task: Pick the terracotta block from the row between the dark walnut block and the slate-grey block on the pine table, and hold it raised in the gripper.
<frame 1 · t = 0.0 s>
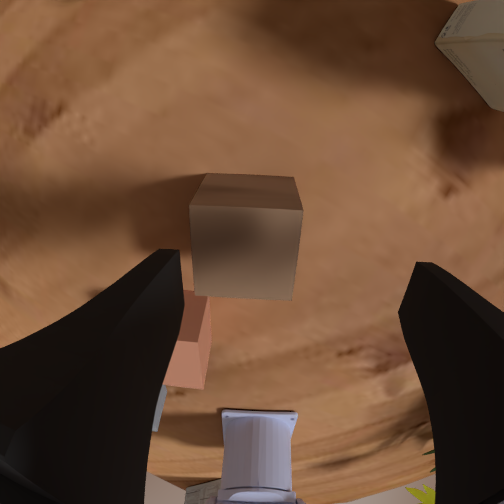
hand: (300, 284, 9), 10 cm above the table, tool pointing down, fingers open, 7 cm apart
supplement box: (239, 491, 49), on the table
walnut block: (248, 213, 19), on the table
skincare box: (477, 56, 13), on the table
daffodil flowers: (461, 398, 31), on the table
terracotta block: (178, 314, 24), on the table
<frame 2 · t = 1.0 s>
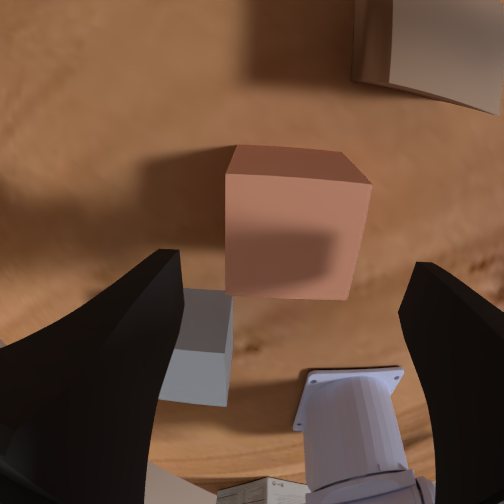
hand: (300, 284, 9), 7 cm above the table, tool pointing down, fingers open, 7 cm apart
supplement box: (281, 491, 41), on the table
walnut block: (401, 43, 11), on the table
terracotta block: (286, 195, 16), on the table
slate grey block: (194, 318, 20), on the table
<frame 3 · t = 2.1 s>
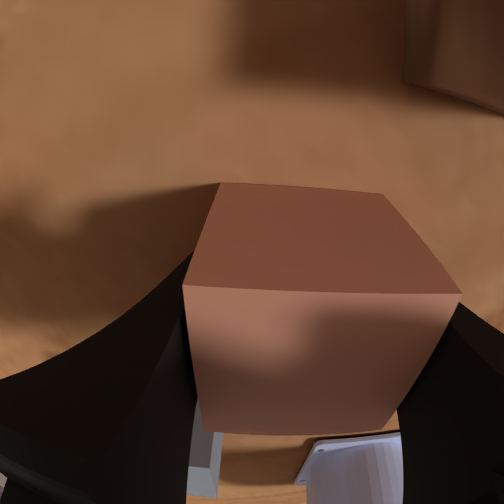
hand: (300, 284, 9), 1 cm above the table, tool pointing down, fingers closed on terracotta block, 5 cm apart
walnut block: (471, 32, 6), on the table
terracotta block: (296, 259, 10), on the table, touching gripper
slate grey block: (175, 392, 15), on the table
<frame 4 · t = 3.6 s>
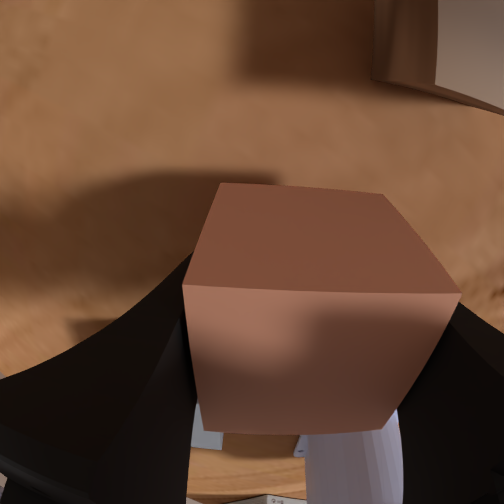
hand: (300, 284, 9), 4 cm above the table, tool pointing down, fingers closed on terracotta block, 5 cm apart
walnut block: (430, 36, 9), on the table
terracotta block: (296, 259, 10), point 3 cm above the table, touching gripper
slate grey block: (185, 351, 18), on the table
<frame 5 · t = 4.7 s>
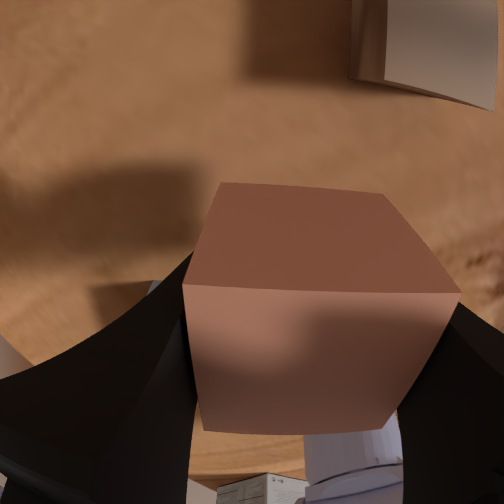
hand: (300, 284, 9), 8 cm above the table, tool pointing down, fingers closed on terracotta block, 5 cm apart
supplement box: (280, 488, 41), on the table
walnut block: (397, 41, 12), on the table
terracotta block: (296, 258, 10), point 6 cm above the table, touching gripper
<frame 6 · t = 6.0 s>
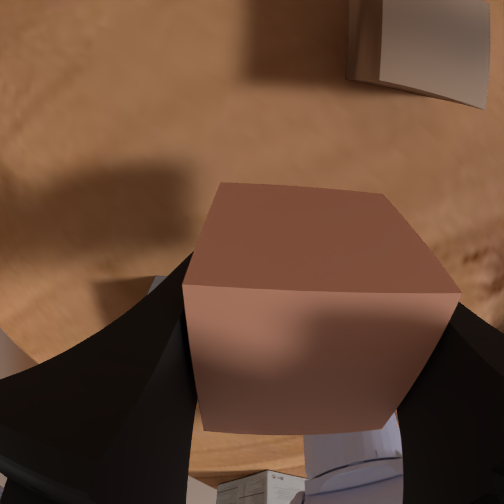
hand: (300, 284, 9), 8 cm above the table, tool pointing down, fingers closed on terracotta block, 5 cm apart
supplement box: (280, 485, 42), on the table
walnut block: (393, 43, 12), on the table
terracotta block: (296, 258, 10), point 7 cm above the table, touching gripper
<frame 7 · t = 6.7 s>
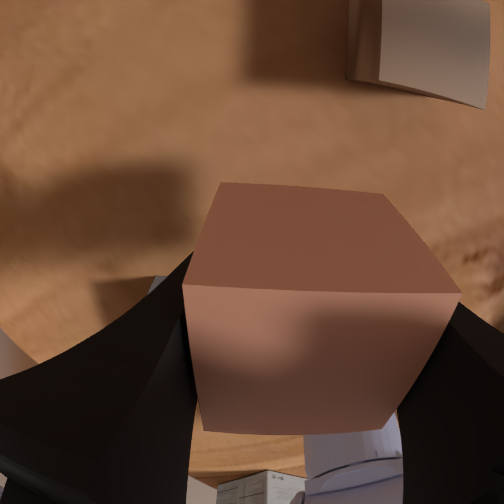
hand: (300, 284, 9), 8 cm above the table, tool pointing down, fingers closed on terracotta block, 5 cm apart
supplement box: (280, 485, 42), on the table
walnut block: (393, 43, 12), on the table
terracotta block: (296, 258, 10), point 7 cm above the table, touching gripper
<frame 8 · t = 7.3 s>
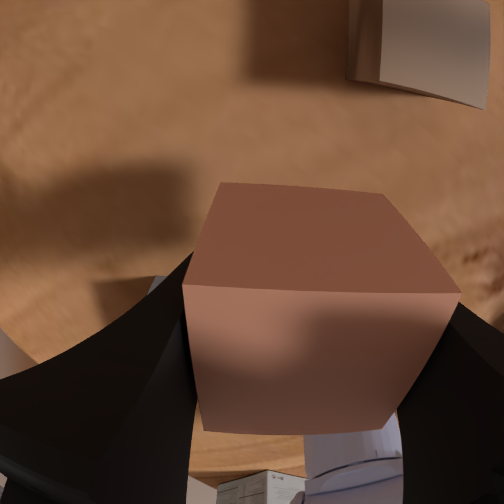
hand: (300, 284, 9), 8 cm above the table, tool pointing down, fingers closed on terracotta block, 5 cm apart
supplement box: (280, 485, 42), on the table
walnut block: (393, 43, 12), on the table
terracotta block: (296, 258, 10), point 7 cm above the table, touching gripper
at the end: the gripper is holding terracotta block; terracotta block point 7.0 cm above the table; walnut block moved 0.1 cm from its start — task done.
